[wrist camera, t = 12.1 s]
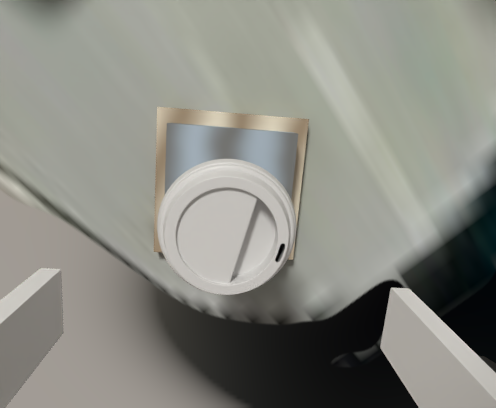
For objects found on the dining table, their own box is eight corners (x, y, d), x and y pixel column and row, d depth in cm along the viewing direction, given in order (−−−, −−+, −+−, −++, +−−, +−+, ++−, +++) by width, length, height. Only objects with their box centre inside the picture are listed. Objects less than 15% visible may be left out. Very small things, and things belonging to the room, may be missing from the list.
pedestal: (306, 119, 41) (314, 119, 37) (290, 255, 45) (297, 270, 41) (160, 107, 40) (151, 106, 36) (156, 247, 44) (148, 261, 40)
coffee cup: (234, 253, 40) (237, 333, 25) (162, 198, 38) (119, 248, 24) (293, 185, 38) (332, 227, 24) (221, 124, 37) (215, 129, 22)
